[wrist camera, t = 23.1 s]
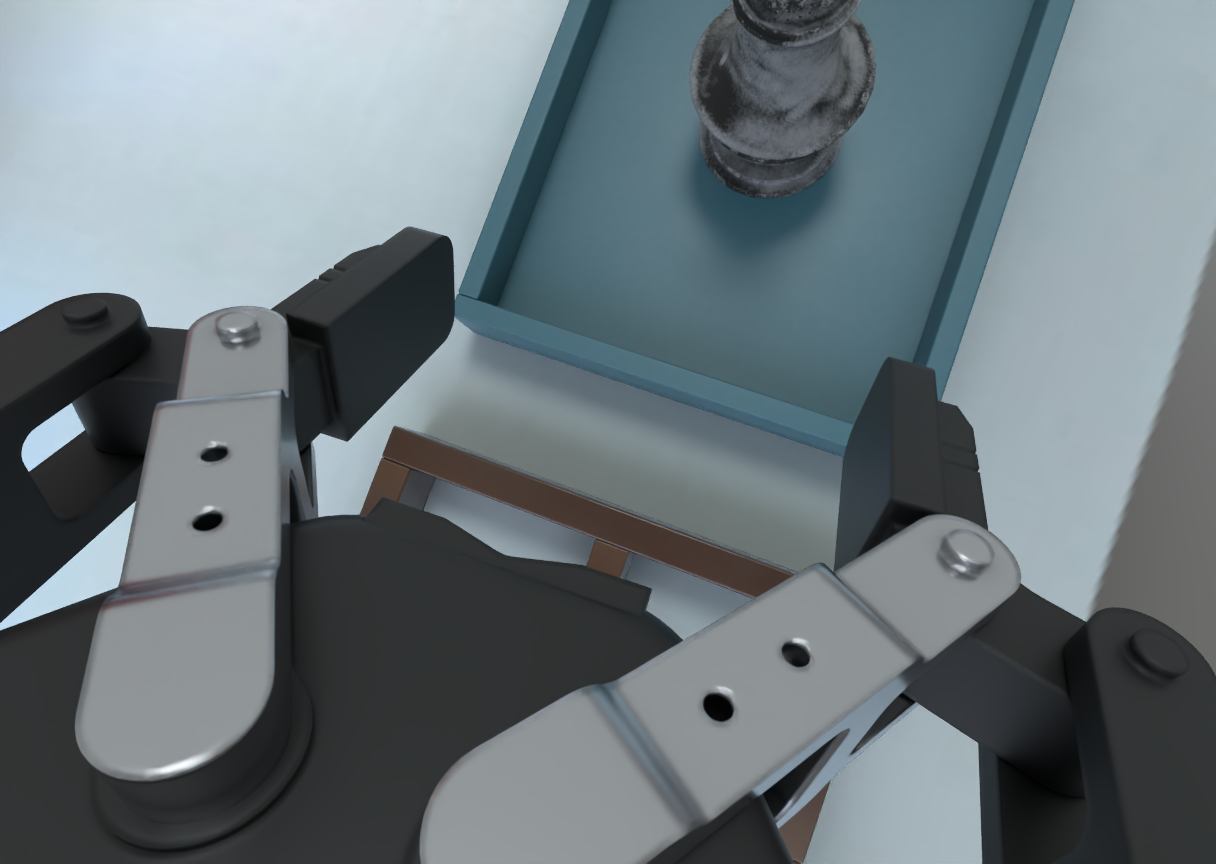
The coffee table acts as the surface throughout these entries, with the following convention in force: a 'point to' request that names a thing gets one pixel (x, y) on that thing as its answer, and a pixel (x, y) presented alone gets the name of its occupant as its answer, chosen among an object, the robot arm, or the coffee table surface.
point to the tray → (758, 214)
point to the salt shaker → (779, 91)
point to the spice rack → (614, 528)
